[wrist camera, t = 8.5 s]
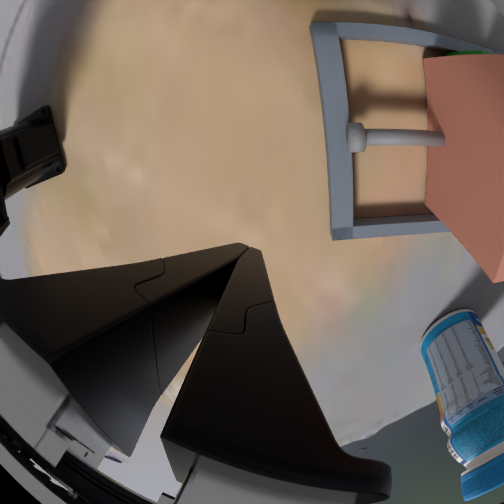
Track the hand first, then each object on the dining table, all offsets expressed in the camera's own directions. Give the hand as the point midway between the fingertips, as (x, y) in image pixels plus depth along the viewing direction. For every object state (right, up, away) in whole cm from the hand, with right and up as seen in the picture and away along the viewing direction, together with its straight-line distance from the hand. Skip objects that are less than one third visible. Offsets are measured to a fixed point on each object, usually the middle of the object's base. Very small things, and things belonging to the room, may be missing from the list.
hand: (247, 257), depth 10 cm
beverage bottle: (+23, -9, +16) cm, 30 cm away
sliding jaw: (+10, +8, +6) cm, 15 cm away
